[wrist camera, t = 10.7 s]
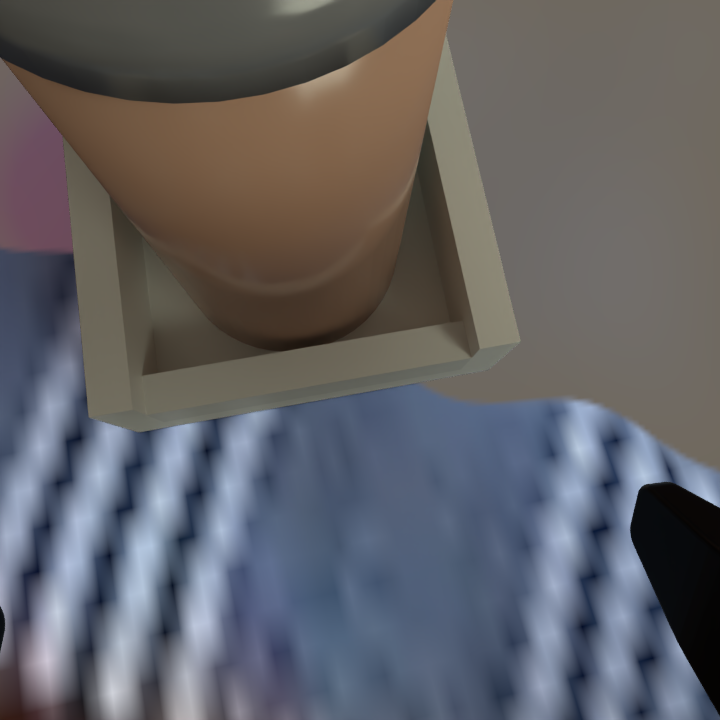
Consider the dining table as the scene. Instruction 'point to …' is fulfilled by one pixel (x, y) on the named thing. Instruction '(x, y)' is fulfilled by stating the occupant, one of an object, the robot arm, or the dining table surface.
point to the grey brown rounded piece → (246, 141)
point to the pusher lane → (305, 365)
